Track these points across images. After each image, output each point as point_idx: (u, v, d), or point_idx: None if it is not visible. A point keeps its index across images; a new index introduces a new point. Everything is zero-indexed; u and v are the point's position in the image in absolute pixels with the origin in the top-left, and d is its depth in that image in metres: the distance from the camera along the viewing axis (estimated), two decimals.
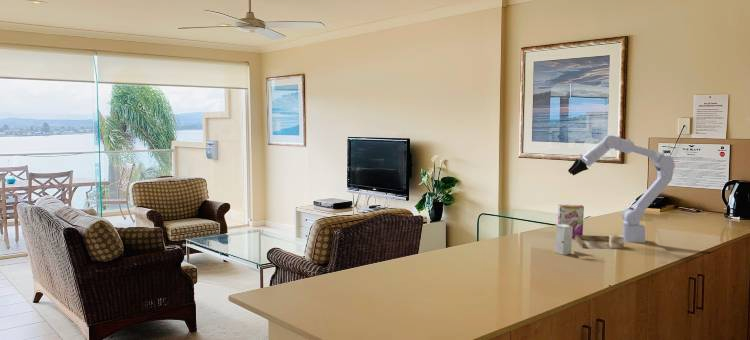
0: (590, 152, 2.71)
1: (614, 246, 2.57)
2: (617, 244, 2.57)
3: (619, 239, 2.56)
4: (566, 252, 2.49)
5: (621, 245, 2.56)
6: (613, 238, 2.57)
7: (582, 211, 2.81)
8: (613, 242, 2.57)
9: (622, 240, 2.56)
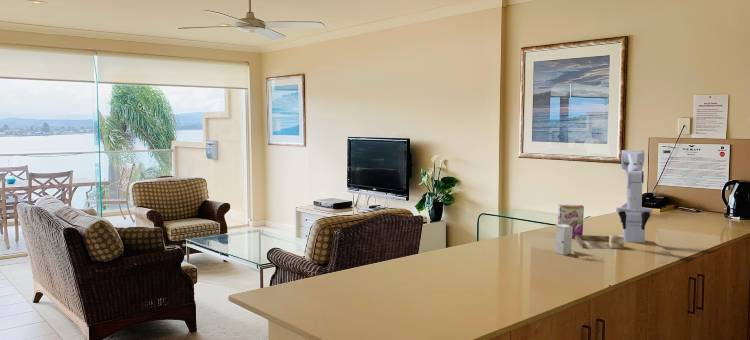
0: (640, 201, 2.54)
1: (614, 246, 2.57)
2: (617, 244, 2.57)
3: (619, 239, 2.56)
4: (566, 252, 2.49)
5: (621, 245, 2.56)
6: (613, 238, 2.57)
7: (582, 211, 2.81)
8: (613, 242, 2.57)
9: (622, 240, 2.56)
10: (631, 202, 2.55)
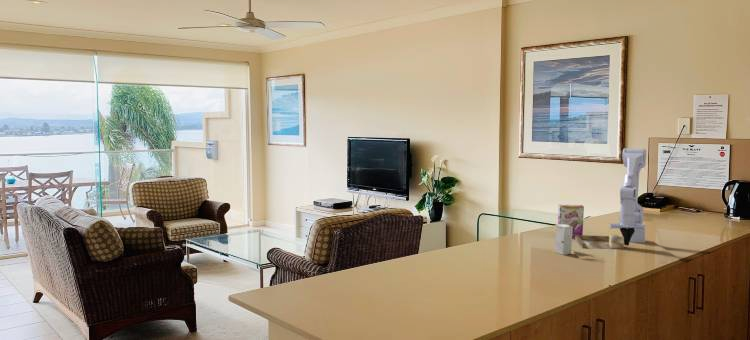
0: (633, 217, 2.55)
1: (614, 246, 2.57)
2: (617, 244, 2.57)
3: (619, 239, 2.56)
4: (566, 252, 2.49)
5: (621, 245, 2.56)
6: (613, 238, 2.57)
7: (582, 211, 2.81)
8: (613, 242, 2.57)
9: (622, 240, 2.56)
10: (624, 218, 2.56)
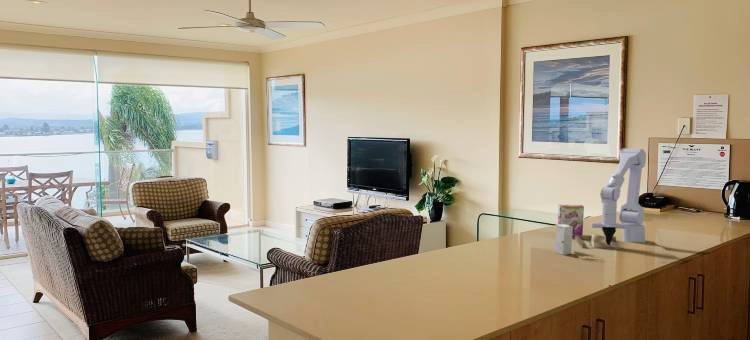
0: (614, 216, 2.56)
1: (596, 245, 2.58)
2: (599, 244, 2.58)
3: (601, 238, 2.58)
4: (566, 252, 2.49)
5: (603, 244, 2.58)
6: (595, 237, 2.58)
7: (582, 211, 2.81)
8: (595, 241, 2.58)
9: (604, 239, 2.57)
10: (606, 217, 2.57)
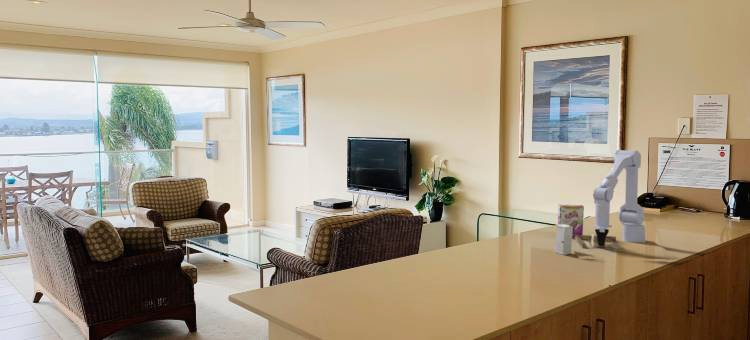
0: None
1: (596, 245, 2.59)
2: None
3: None
4: (566, 252, 2.49)
5: None
6: (595, 237, 2.59)
7: (582, 211, 2.81)
8: (595, 241, 2.59)
9: None
10: (607, 219, 2.53)
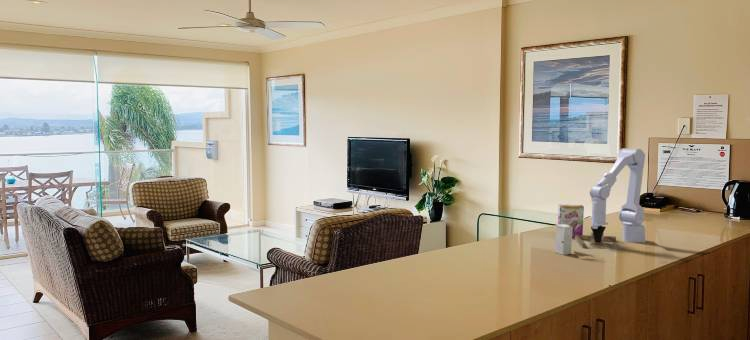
0: None
1: (593, 242, 2.66)
2: None
3: None
4: (566, 252, 2.49)
5: None
6: (592, 234, 2.66)
7: (582, 211, 2.81)
8: (592, 238, 2.66)
9: None
10: (603, 216, 2.60)
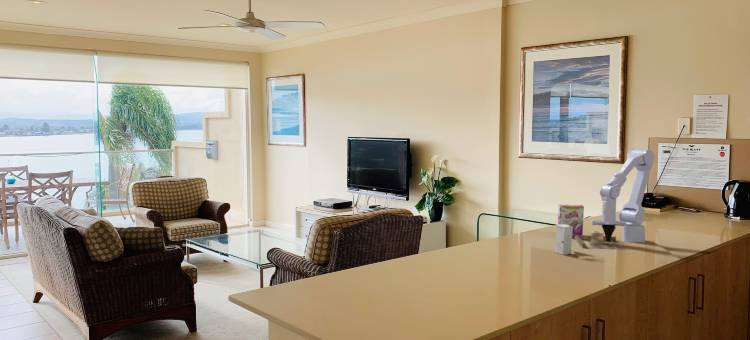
0: (614, 214, 2.63)
1: (593, 242, 2.66)
2: (596, 240, 2.65)
3: (599, 235, 2.65)
4: (566, 252, 2.49)
5: (600, 241, 2.65)
6: (592, 234, 2.66)
7: (582, 211, 2.81)
8: (592, 238, 2.66)
9: (601, 236, 2.64)
10: (605, 215, 2.64)
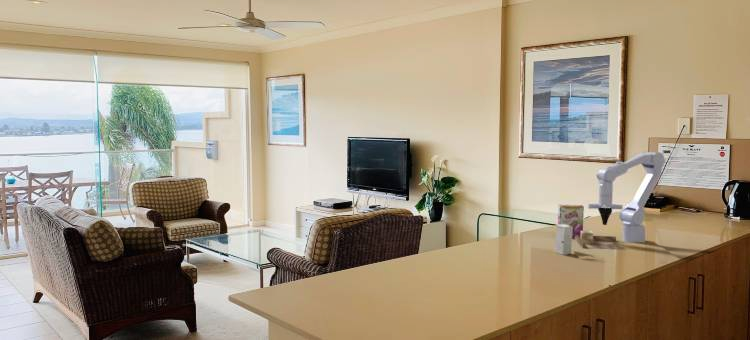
0: (610, 197, 2.66)
1: (584, 242, 2.66)
2: (586, 240, 2.66)
3: (589, 235, 2.65)
4: (566, 252, 2.49)
5: (590, 241, 2.65)
6: (583, 234, 2.66)
7: (582, 211, 2.81)
8: (582, 238, 2.66)
9: (591, 236, 2.65)
10: (602, 198, 2.66)
